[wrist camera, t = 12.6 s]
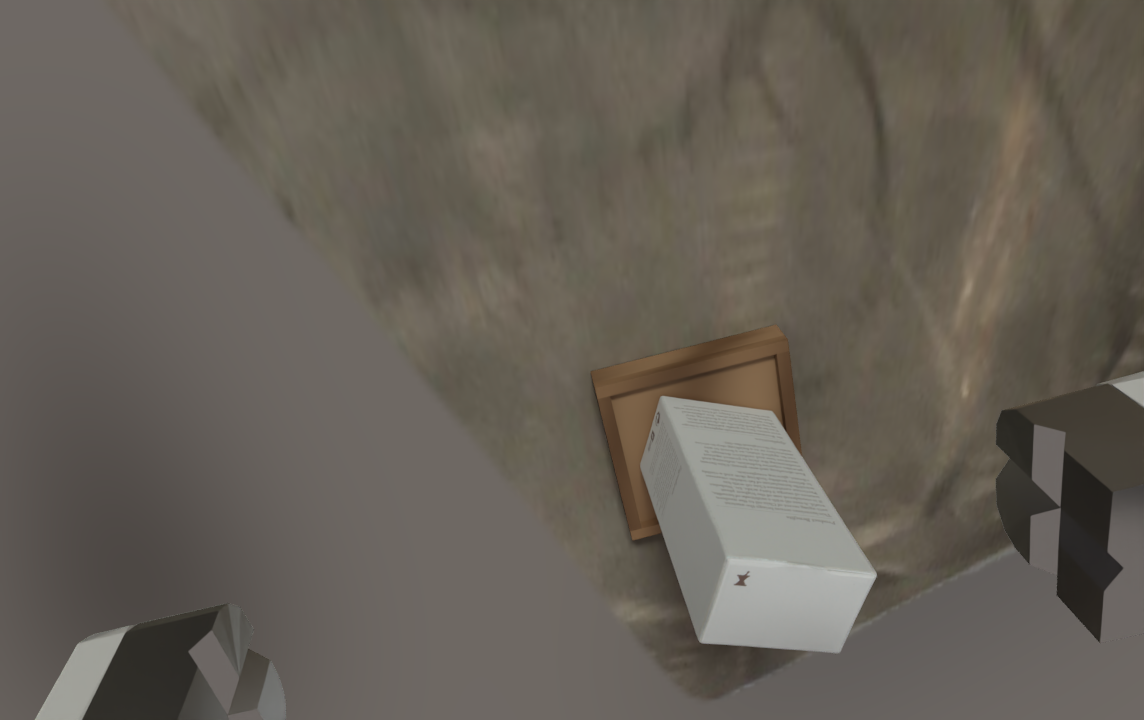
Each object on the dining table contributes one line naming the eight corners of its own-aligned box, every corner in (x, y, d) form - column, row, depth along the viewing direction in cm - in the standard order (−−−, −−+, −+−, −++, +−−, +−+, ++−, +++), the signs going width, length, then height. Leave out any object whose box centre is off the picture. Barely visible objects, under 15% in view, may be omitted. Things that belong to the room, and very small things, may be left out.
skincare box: (637, 466, 42) (692, 646, 32) (658, 392, 41) (725, 555, 30) (751, 481, 43) (842, 658, 33) (777, 409, 42) (882, 572, 31)
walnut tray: (776, 324, 41) (787, 339, 39) (795, 477, 45) (806, 496, 44) (590, 371, 41) (594, 388, 40) (627, 520, 45) (632, 540, 44)
